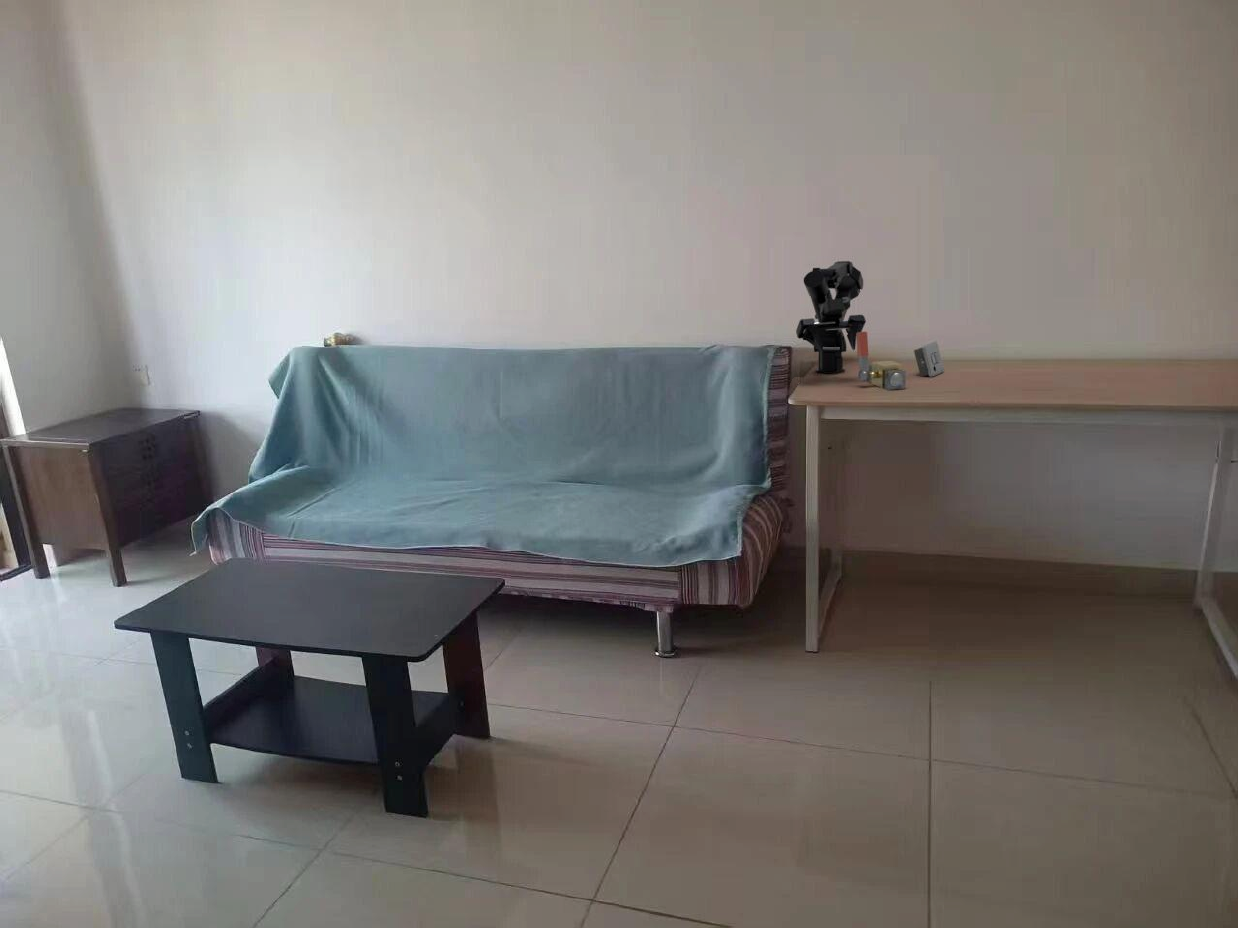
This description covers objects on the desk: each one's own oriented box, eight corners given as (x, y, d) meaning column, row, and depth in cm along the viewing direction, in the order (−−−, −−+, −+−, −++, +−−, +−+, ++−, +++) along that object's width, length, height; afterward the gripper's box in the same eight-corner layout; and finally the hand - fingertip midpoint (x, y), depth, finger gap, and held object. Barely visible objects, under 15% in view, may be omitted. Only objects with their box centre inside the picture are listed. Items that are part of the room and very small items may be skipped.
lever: (858, 381, 263) (855, 332, 262) (865, 381, 263) (863, 332, 262) (862, 381, 260) (859, 331, 259) (870, 381, 260) (867, 331, 259)
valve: (857, 381, 270) (858, 360, 268) (884, 379, 271) (885, 358, 269) (879, 391, 255) (880, 369, 254) (908, 388, 256) (908, 366, 255)
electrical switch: (932, 378, 269) (930, 345, 267) (914, 378, 273) (912, 346, 271) (944, 372, 276) (942, 340, 274) (927, 373, 280) (925, 341, 278)
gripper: (799, 290, 264) (812, 334, 257) (863, 285, 267) (879, 329, 259) (790, 315, 274) (803, 359, 266) (852, 311, 276) (867, 354, 269)
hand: (838, 350), depth 265 cm, fingers open, 9 cm apart
